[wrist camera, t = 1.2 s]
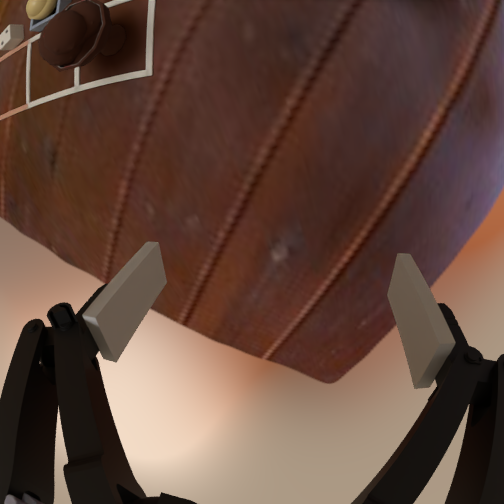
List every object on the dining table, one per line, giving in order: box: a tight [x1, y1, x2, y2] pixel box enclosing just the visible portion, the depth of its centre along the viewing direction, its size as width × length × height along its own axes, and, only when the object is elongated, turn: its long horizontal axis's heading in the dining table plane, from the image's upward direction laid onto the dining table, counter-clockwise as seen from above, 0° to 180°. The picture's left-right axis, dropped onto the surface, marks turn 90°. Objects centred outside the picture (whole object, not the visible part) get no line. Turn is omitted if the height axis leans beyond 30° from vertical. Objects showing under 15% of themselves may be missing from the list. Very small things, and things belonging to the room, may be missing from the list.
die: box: [0, 24, 24, 50], centre depth 28 cm, size 4×4×4 cm
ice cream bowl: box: [38, 0, 126, 72], centre depth 25 cm, size 11×11×15 cm
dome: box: [26, 0, 58, 20], centre depth 23 cm, size 6×6×5 cm
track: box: [0, 0, 156, 120], centre depth 33 cm, size 15×43×1 cm, turn 89°
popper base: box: [30, 0, 71, 32], centre depth 26 cm, size 8×8×3 cm
